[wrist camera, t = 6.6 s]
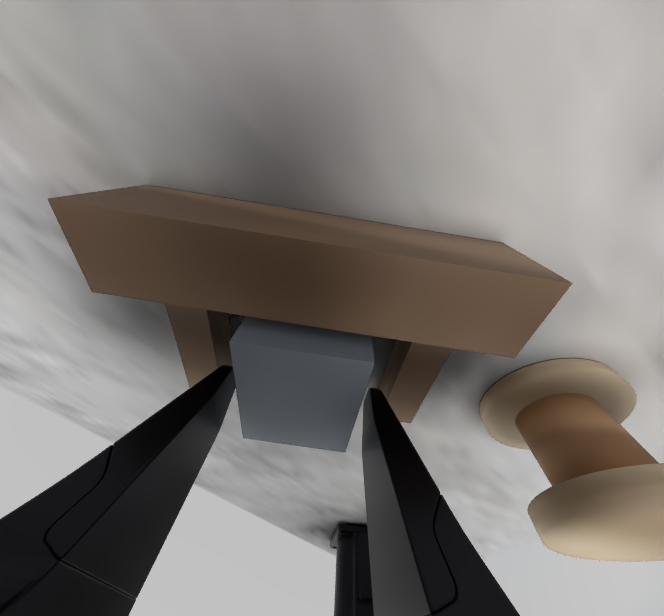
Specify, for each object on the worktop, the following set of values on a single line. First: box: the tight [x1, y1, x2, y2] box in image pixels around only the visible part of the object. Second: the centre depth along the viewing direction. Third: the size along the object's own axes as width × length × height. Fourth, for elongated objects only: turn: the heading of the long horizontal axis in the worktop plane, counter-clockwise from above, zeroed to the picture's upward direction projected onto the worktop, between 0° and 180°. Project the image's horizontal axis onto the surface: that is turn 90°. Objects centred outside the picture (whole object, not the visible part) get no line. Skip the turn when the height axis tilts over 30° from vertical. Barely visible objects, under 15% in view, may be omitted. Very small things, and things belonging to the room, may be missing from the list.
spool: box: [479, 358, 664, 562], centre depth 10 cm, size 6×6×5 cm
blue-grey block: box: [229, 316, 375, 452], centre depth 10 cm, size 5×4×4 cm
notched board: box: [48, 185, 572, 423], centre depth 9 cm, size 8×12×3 cm
